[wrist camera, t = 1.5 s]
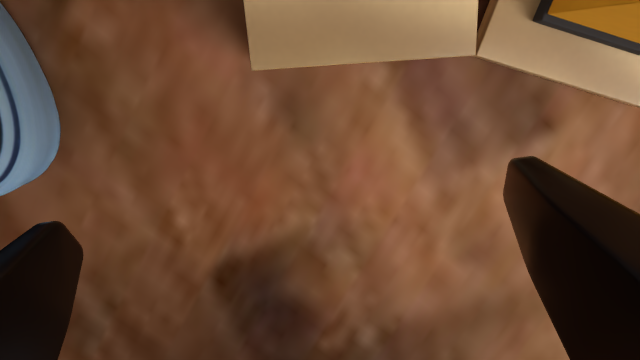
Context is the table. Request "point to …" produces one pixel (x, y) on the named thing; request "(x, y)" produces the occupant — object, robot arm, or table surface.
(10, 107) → the shoe
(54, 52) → the table surface
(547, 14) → the rain boot
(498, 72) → the table surface
